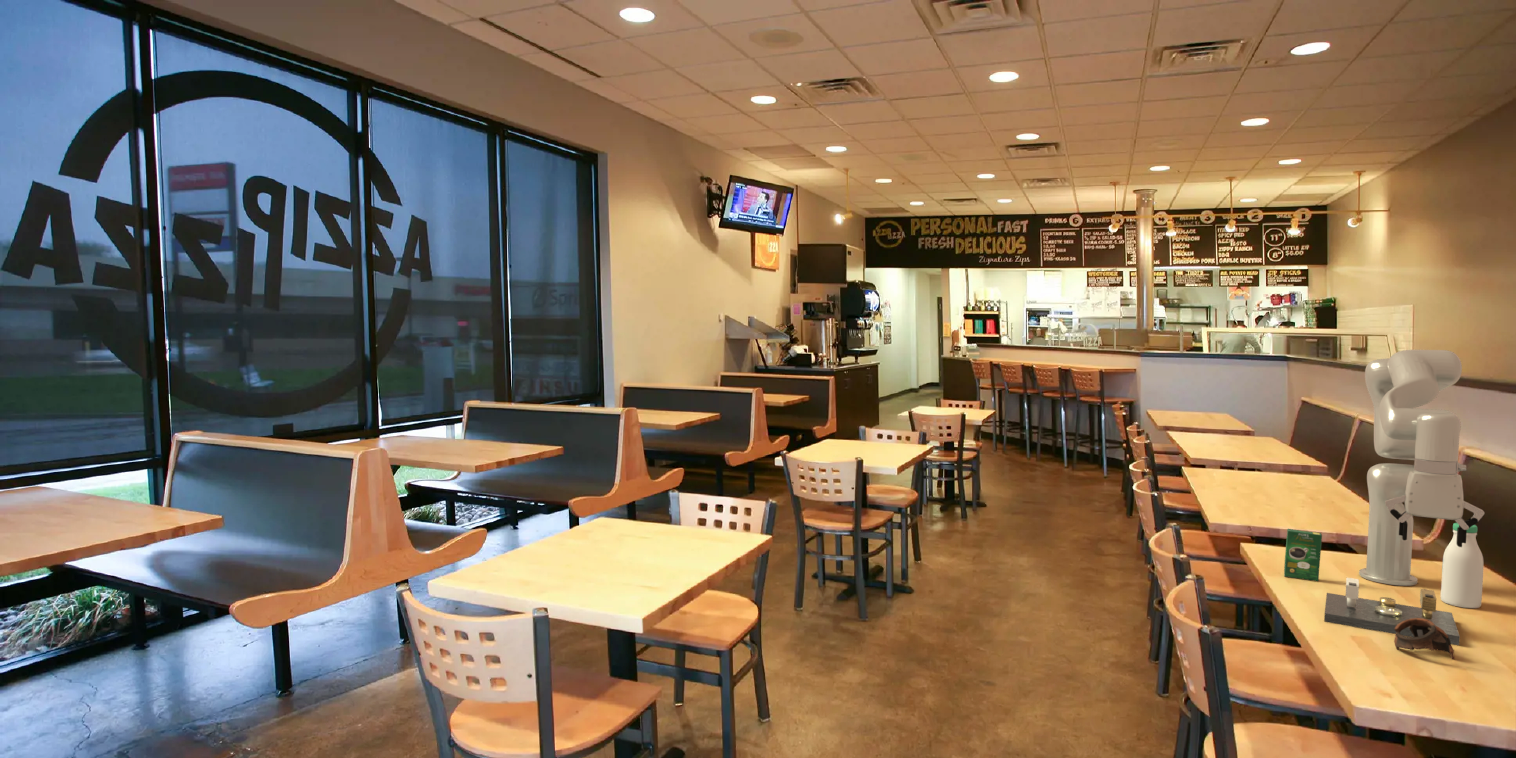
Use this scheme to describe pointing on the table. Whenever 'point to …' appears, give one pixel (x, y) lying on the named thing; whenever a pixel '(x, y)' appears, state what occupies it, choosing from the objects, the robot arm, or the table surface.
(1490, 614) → the table surface
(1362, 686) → the table surface
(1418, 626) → the brown curved hollow piece
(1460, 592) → the milk bottle
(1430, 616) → the wooden bar knob
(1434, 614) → the levelling plate
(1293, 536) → the coffee box
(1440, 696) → the table surface
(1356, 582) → the white t-shaped handle
